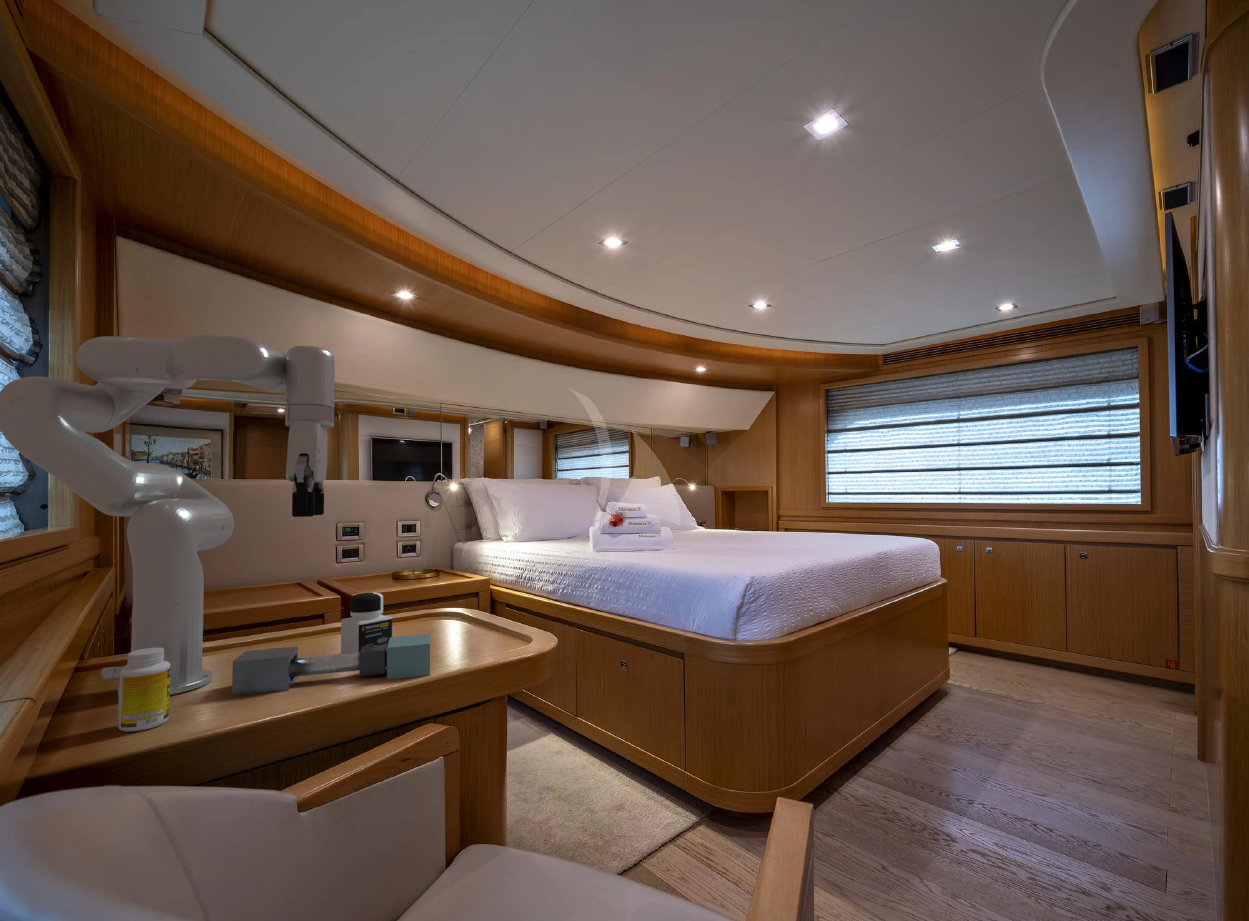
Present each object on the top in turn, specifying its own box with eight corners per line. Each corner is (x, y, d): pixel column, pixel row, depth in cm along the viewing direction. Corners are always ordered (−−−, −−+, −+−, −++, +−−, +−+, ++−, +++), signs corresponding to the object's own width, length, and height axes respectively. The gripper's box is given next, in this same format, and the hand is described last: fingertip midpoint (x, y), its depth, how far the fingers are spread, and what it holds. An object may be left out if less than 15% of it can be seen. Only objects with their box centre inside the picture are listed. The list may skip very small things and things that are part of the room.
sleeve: (231, 696, 93) (232, 661, 93) (244, 683, 100) (245, 650, 100) (288, 690, 96) (289, 656, 96) (297, 677, 102) (298, 646, 102)
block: (387, 679, 100) (387, 647, 100) (389, 667, 107) (389, 637, 108) (430, 675, 102) (430, 643, 102) (429, 663, 110) (429, 633, 110)
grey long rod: (266, 686, 96) (266, 661, 96) (272, 678, 100) (273, 654, 100) (408, 671, 103) (409, 648, 103) (409, 664, 107) (409, 642, 107)
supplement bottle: (175, 723, 82) (177, 649, 83) (124, 736, 78) (127, 658, 78) (161, 715, 85) (163, 644, 86) (112, 727, 81) (114, 652, 81)
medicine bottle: (358, 660, 112) (359, 597, 113) (340, 655, 116) (340, 594, 117) (392, 652, 118) (393, 592, 119) (373, 647, 122) (374, 589, 123)
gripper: (296, 423, 109) (295, 515, 108) (273, 410, 93) (271, 518, 92) (340, 424, 112) (339, 514, 111) (325, 411, 95) (324, 516, 94)
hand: (308, 515), depth 101 cm, fingers open, 9 cm apart
